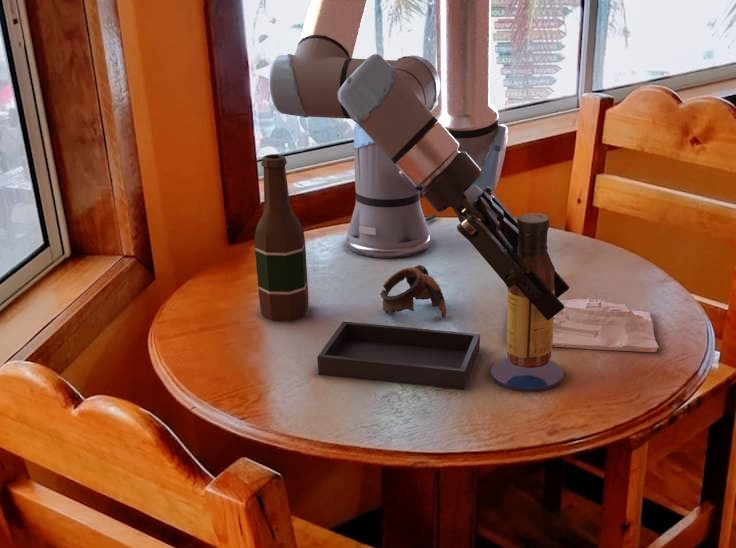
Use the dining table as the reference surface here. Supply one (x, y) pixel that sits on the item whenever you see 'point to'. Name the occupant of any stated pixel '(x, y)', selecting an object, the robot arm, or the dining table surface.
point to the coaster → (526, 376)
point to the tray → (400, 355)
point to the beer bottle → (280, 249)
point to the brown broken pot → (412, 290)
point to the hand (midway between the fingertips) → (558, 303)
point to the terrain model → (603, 327)
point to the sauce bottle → (524, 320)
